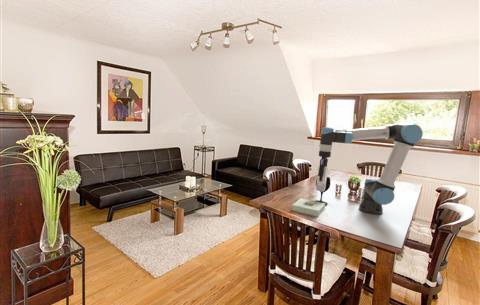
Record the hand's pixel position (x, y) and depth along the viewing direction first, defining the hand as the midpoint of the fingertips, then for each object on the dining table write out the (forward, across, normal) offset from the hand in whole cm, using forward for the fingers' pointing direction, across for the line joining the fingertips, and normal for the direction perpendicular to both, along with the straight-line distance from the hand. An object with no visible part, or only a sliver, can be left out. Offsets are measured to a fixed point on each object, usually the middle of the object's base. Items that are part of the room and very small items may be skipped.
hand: (321, 184), depth 175 cm
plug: (+4, 0, 0) cm, 4 cm away
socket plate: (+20, -1, -7) cm, 21 cm away
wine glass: (+19, -20, -3) cm, 28 cm away
